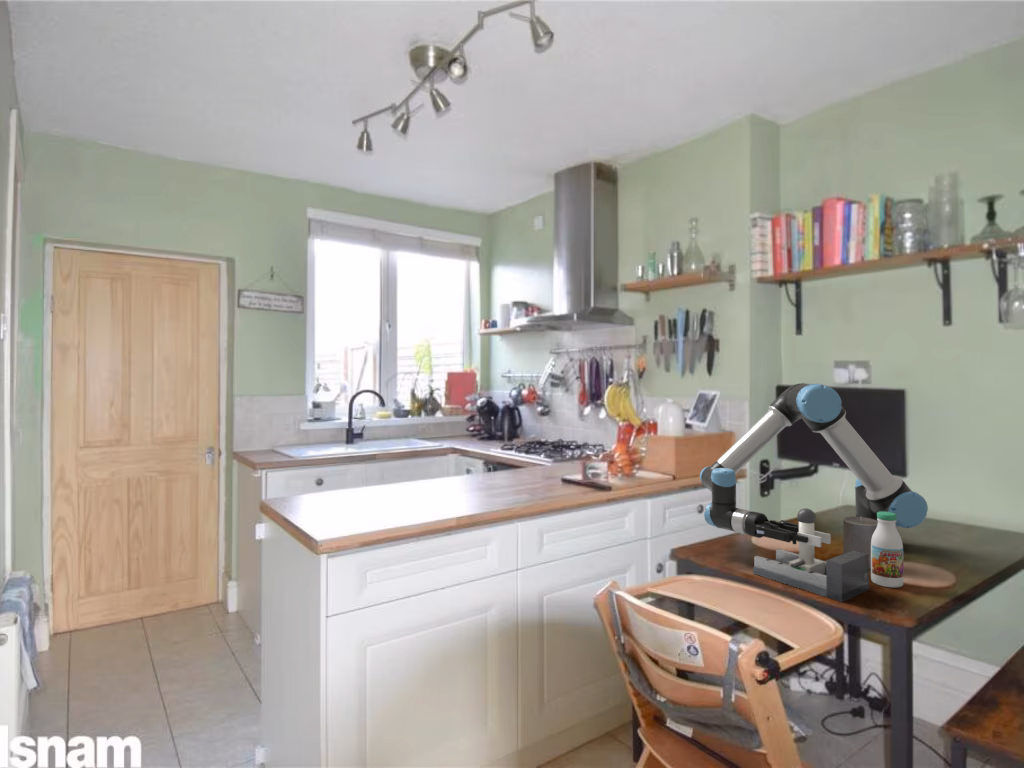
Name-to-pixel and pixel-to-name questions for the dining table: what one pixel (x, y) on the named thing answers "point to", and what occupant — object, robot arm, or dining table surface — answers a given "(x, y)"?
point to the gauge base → (837, 582)
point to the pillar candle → (858, 534)
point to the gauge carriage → (805, 550)
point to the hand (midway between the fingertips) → (825, 540)
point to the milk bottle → (887, 552)
